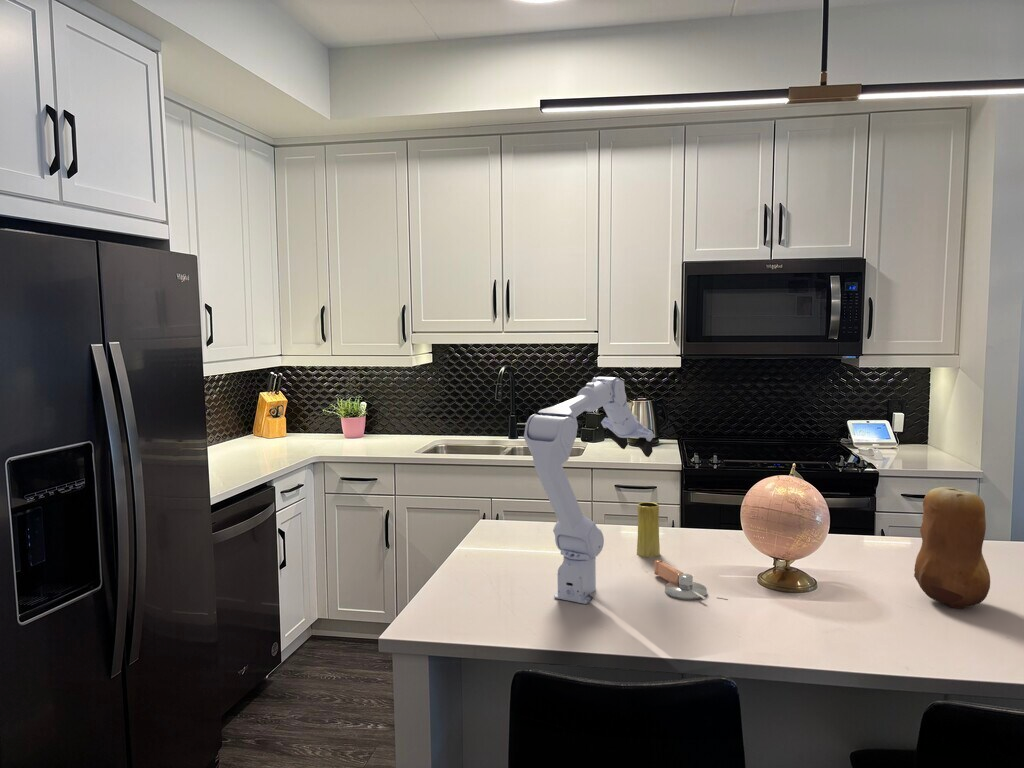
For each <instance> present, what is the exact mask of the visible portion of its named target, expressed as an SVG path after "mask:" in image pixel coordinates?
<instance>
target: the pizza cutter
mask: <svg viewBox="0 0 1024 768" xmlns="http://www.w3.org/2000/svg"><path fill="white" fill-rule="evenodd" d="M653 564H654V568H653V569H654V570H653V571H654V575H658V576H659V577H660V578H662V579H664V580H666V581H667V582H668V583H666V584H665V586H664V593H665V594H666V595H667V596H668V597H671V598H674V599H677V600H681V601H682V600H683V601H696V600H701V599H702V600H706V599H707V598H706V596H707V595H708V592H707V590H708V588H707V587H706V586H705V585H704V584H702V583H698V582H697V581H694V579H693V577H694V576H693V575H692V574H691V573H690V574H689V573H684V572H683V571H681V570H680V569H677V568H675V567H673V566H671V565H669V564H668V563H666V562H664V560H662V559H655V560H654V563H653Z"/></svg>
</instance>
